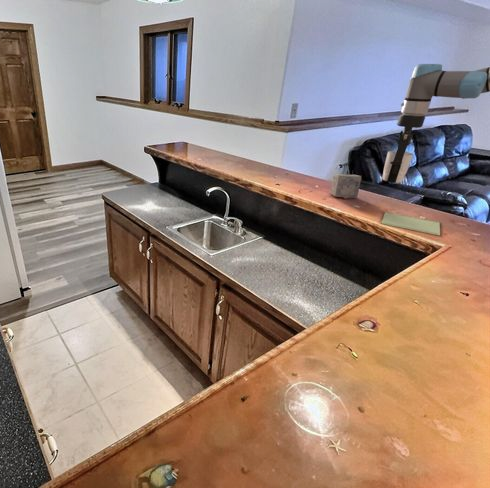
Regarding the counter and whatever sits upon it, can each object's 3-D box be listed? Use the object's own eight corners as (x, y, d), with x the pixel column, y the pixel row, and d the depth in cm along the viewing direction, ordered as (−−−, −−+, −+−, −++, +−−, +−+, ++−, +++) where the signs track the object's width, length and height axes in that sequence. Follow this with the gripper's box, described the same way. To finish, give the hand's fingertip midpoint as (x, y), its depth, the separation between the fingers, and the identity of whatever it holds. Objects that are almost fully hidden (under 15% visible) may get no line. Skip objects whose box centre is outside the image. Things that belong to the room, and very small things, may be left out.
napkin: (439, 223, 132) (439, 222, 132) (439, 235, 121) (440, 235, 121) (385, 212, 141) (385, 211, 141) (381, 223, 130) (381, 222, 130)
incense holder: (350, 194, 161) (356, 172, 156) (356, 200, 154) (363, 177, 149) (328, 193, 162) (333, 171, 158) (333, 199, 155) (339, 176, 150)
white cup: (383, 182, 127) (392, 154, 122) (377, 176, 134) (385, 150, 129) (407, 184, 125) (417, 156, 121) (400, 178, 132) (408, 151, 128)
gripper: (402, 111, 129) (383, 172, 139) (397, 116, 114) (377, 184, 124) (426, 112, 125) (405, 175, 135) (425, 118, 110) (401, 188, 120)
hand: (392, 179), depth 129 cm, fingers closed on white cup, 8 cm apart
